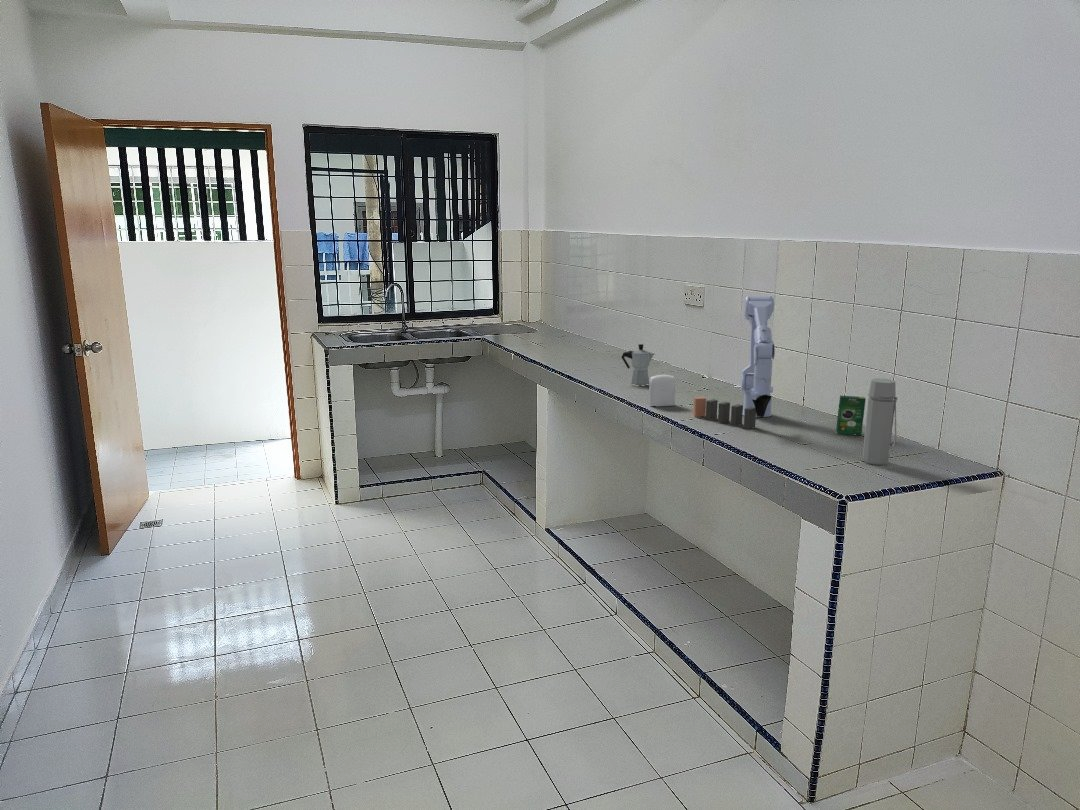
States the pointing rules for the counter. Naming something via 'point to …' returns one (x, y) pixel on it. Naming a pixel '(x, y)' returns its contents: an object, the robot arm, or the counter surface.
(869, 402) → the water bottle
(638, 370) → the coffee maker
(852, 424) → the coffee box
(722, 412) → the domino
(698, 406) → the terracotta domino
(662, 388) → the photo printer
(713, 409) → the domino
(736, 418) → the domino
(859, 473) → the counter surface
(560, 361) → the counter surface
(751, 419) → the domino
